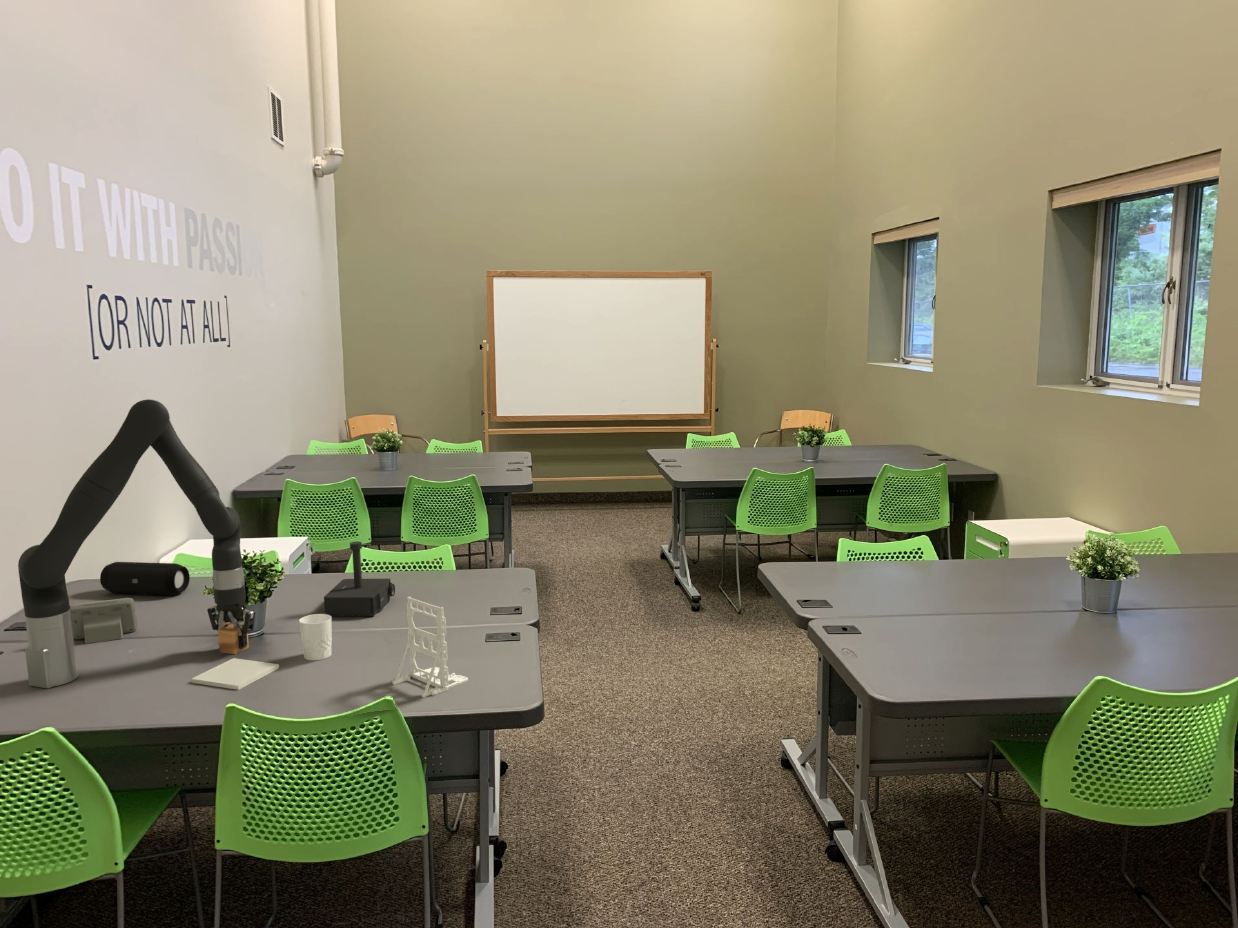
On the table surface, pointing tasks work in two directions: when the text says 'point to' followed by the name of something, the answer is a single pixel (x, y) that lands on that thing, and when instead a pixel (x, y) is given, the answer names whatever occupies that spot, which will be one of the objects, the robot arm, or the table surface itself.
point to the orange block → (230, 640)
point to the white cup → (316, 636)
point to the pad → (235, 673)
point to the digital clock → (103, 620)
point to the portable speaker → (145, 578)
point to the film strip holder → (428, 652)
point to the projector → (358, 592)
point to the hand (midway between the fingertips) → (234, 646)
